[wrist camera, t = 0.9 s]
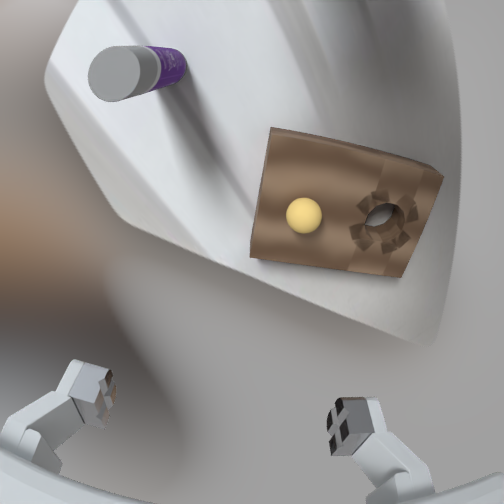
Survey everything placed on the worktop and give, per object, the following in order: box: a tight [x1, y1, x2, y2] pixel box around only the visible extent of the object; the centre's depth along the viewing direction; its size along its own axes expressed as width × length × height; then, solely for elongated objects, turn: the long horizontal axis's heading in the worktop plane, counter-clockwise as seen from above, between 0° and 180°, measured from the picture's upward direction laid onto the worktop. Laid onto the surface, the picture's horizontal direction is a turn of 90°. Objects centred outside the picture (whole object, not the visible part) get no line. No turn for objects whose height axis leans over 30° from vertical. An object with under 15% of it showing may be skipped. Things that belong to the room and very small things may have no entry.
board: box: [250, 127, 444, 278], centre depth 39 cm, size 16×22×4 cm
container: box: [88, 46, 186, 102], centre depth 25 cm, size 5×5×15 cm
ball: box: [286, 198, 322, 234], centre depth 35 cm, size 4×4×4 cm
